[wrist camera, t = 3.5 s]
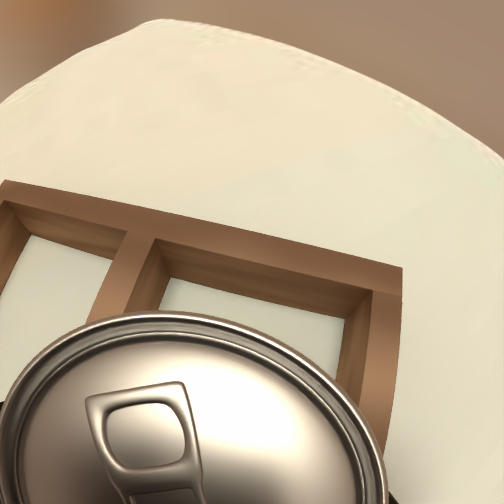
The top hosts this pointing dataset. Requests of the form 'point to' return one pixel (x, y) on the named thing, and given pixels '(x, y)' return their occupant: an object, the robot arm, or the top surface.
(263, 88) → the top surface
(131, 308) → the shelf lanes
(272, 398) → the can
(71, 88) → the top surface
